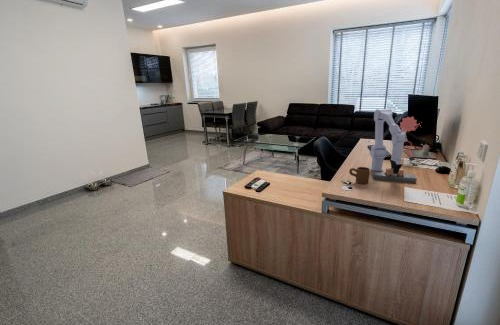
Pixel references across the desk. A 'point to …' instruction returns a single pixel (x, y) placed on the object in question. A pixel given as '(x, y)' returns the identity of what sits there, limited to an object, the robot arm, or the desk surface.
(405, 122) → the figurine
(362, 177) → the mug
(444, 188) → the desk surface
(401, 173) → the tan tabbed block
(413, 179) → the grey slotted tapered plate
